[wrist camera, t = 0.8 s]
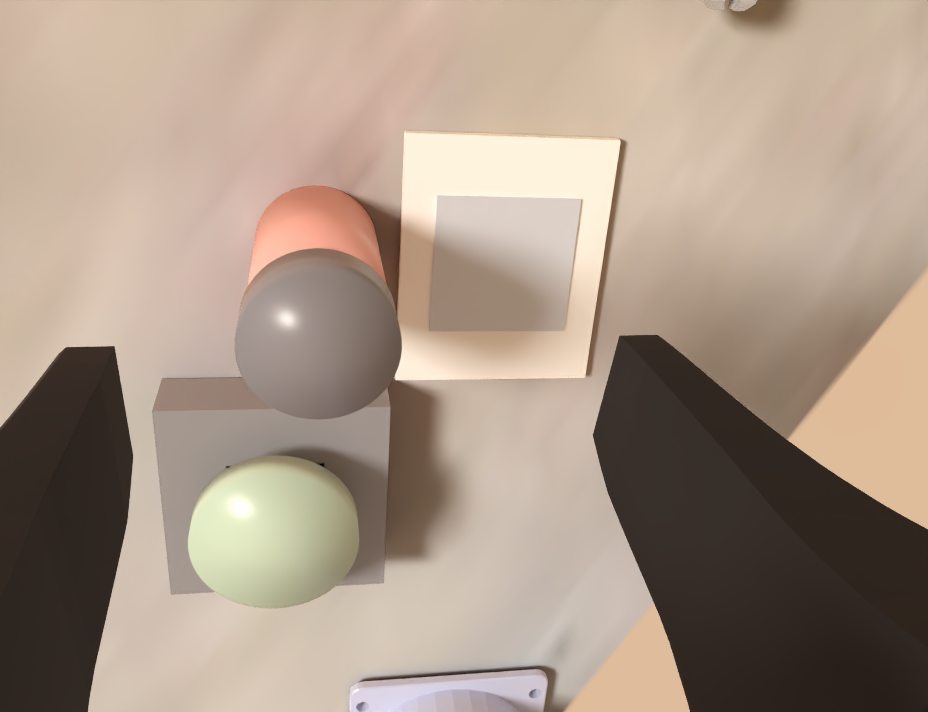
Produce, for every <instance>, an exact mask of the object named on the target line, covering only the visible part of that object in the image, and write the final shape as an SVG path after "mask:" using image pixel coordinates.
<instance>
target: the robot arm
mask: <svg viewBox="0 0 928 712" xmlns="http://www.w3.org/2000/svg"><path fill="white" fill-rule="evenodd" d="M593 438H594V442H595V446H596V450H597V454H598V458H599V462H600V466H601V470H602V473H603V477H604V480H605V484H606V487H607V491H608V494H609V497H610V499H611V502H612V504H613V507H614V509H615V511H616V514H617V516H618V519H619V521H620V523H621V526H622V528H623V531H624V533H625V536H626V538H627V540H628V543H629V545H630V547H631V550H632V552H633V554H634V557H635V559H636V561H637V564H638V566H639V569H640V571H641V573H642V576H643V578H644V580H645V583H646V585H647V587H648V590H649V592H650V594H651V597H652V599H653V601H654V604H655V606H656V609H657V611H658V613H659V615H660V618H661V621H662V623H663V626H664V629H665V632H666V634H667V637H668V640H669V642H670V645H671V649H672V652H673V655H674V659H675V662H676V665H677V669H678V672H679V675H680V678H681V681H682V685H683V688H684V691H685V695H686V698H687V702H688V705H689V709H690V712H928V529H926V528H924V527H922V526H920V525H919V524H917V523H915V522H913V521H911V520H909V519H907V518H906V517H904V516H902V515H900V514H899V513H897V512H895V511H893V510H892V509H890V508H888V507H886V506H885V505H883V504H881V503H880V502H878V501H876V500H875V499H873V498H872V497H870V496H869V495H867V494H865V493H864V492H862V491H861V490H859V489H857V488H856V487H854V486H853V485H851V484H849V483H848V482H846V481H845V480H843V479H842V478H840V477H838V476H837V475H835V474H834V473H833V472H831V471H829V470H828V469H827V468H825V467H824V466H822V465H820V464H819V463H818V462H816V461H815V460H814V459H812V458H811V457H810V456H808V455H807V454H805V453H804V452H803V451H801V450H800V449H799V448H797V447H796V446H795V445H793V444H792V443H790V442H789V441H788V440H786V439H785V438H784V437H782V436H781V435H780V434H778V433H777V432H776V431H775V430H773V429H772V428H771V427H769V426H768V425H767V424H766V423H764V422H763V421H762V420H761V419H759V418H758V417H757V416H755V415H754V414H753V413H752V412H751V411H749V410H748V409H747V408H746V407H744V406H743V405H742V404H741V403H739V402H738V401H737V400H736V399H735V398H733V397H732V396H731V395H730V394H729V393H727V392H726V391H725V390H724V389H723V388H721V387H720V386H719V385H718V384H717V383H716V382H714V381H713V380H712V379H711V378H710V377H708V376H707V375H706V374H705V373H704V372H703V371H701V370H700V369H699V368H698V367H697V366H695V365H694V364H693V363H692V362H691V361H689V360H688V359H687V358H686V357H685V356H684V355H682V354H681V353H680V352H679V351H677V350H676V349H675V348H674V347H673V346H671V345H670V344H669V343H667V342H666V341H665V340H664V339H662V338H661V337H660V336H658V335H633V336H619V340H618V344H617V347H616V351H615V355H614V359H613V362H612V366H611V370H610V374H609V377H608V381H607V385H606V388H605V392H604V396H603V400H602V403H601V407H600V411H599V414H598V418H597V422H596V426H595V429H594V433H593ZM132 464H133V452H132V446H131V441H130V435H129V429H128V423H127V417H126V411H125V406H124V400H123V394H122V388H121V382H120V376H119V371H118V365H117V359H116V353H115V347H114V346H107V347H66V348H65V349H64V350H63V351H62V352H60V353H59V354H58V356H57V357H56V358H55V360H54V361H53V362H52V363H51V365H50V366H49V367H48V369H47V370H46V371H45V373H44V374H43V375H42V377H41V378H40V379H39V380H38V382H37V383H36V384H35V386H34V387H33V388H32V389H31V391H30V392H29V393H28V395H27V396H26V397H25V398H24V400H23V401H22V402H21V403H20V404H19V406H18V407H17V408H16V409H15V411H14V412H13V413H12V414H11V416H10V417H9V418H8V419H7V420H6V422H5V423H4V424H3V425H2V426H1V427H0V712H88V705H89V697H90V692H91V686H92V680H93V675H94V669H95V664H96V660H97V655H98V651H99V646H100V642H101V638H102V633H103V629H104V624H105V620H106V615H107V611H108V607H109V602H110V598H111V593H112V589H113V584H114V580H115V575H116V571H117V566H118V562H119V557H120V553H121V548H122V544H123V539H124V534H125V530H126V525H127V519H128V509H129V499H130V488H131V476H132ZM547 687H548V679H547V676H546V673H545V672H544V671H542V670H539V669H532V670H518V671H504V672H490V673H476V674H462V675H448V676H434V677H420V678H406V679H392V680H378V681H364V682H358V683H356V684H354V685H353V686H352V687H351V689H350V702H349V712H544V706H545V699H546V693H547ZM534 689H536V690H534ZM532 690H533V691H532ZM361 702H366V703H363V704H361Z"/></svg>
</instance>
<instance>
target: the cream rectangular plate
mask: <svg viewBox="0 0 928 712" xmlns="http://www.w3.org/2000/svg"><path fill="white" fill-rule="evenodd" d="M620 143H621V140H620V139H618V138H604V137H576V136H549V135H521V134H493V133H465V132H437V131H410V130H405V132H404V157H403V182H402V207H401V231H400V256H399V281H398V306H397V318H398V322H399V327H400V332H401V338H402V352H401V359H400V363H399V367H398V369H397V371H396V374H395V380H452V379H529V378H585V374H586V368H587V361H588V354H589V348H590V341H591V335H592V328H593V321H594V315H595V308H596V302H597V295H598V288H599V282H600V275H601V268H602V262H603V255H604V249H605V242H606V235H607V229H608V222H609V216H610V209H611V202H612V196H613V189H614V183H615V176H616V169H617V163H618V156H619V149H620Z"/></svg>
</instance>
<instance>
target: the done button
mask: <svg viewBox="0 0 928 712" xmlns="http://www.w3.org/2000/svg"><path fill="white" fill-rule="evenodd" d="M358 548H359V529H358V517H357V509H356V505H355V502H354V499H353V497H352V495H351V493H350V491H349V490H348V488H347V487H346V486H345V484H344V483H343V482H342V481H341V480H340V479H339V478H338V477H337V476H336V475H335V474H333V473H332V472H330V471H329V470H328V469H326V468H324V467H322V466H320V465H318V464H316V463H314V462H311V461H308V460H305V459H301V458H297V457H291V456H277V455H273V456H262V457H257V458H251V459H248V460H245V461H242V462H239V463H237V464H235V465H232V466H230V467H229V468H227V469H225V470H223V471H222V472H220V473H219V474H218V475H217V476H215V477H214V478H213V479H212V480H211V481H210V482H209V483H208V484H207V485H206V486H205V488H204V489H203V490H202V492H201V493H200V495H199V497H198V499H197V500H196V503H195V506H194V509H193V514H192V519H191V525H190V530H189V536H188V551H189V557H190V560H191V563H192V565H193V567H194V569H195V571H196V573H197V574H198V575H199V577H200V578H201V579H202V581H203V582H204V583H205V584H206V585H207V586H208V587H210V588H211V589H212V590H214V591H215V592H216V593H218V594H219V595H221V596H223V597H225V598H227V599H229V600H231V601H234V602H236V603H240V604H243V605H247V606H252V607H258V608H283V607H290V606H295V605H299V604H303V603H306V602H309V601H311V600H313V599H316V598H318V597H320V596H322V595H323V594H325V593H327V592H328V591H330V590H331V589H332V588H334V587H335V586H336V585H337V584H338V583H339V582H341V581H342V579H343V578H344V577H345V576H346V575H347V574H348V572H349V570H350V569H351V567H352V566H353V563H354V561H355V559H356V556H357V553H358Z"/></svg>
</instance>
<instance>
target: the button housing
mask: <svg viewBox="0 0 928 712" xmlns="http://www.w3.org/2000/svg"><path fill="white" fill-rule="evenodd" d="M390 410H391V406H390V400H389V394H388V388H386V389H385V391H384V392H383V393H382V394H381V395H380V396H379V397H378V398H377V399H375V400H374V401H373V402H371V403H370V404H369V405H367V406H365V407H364V408H362V409H360V410H358V411H356V412H354V413H351V414H348V415H345V416H342V417H338V418H332V419H322V420H316V419H304V418H298V417H294V416H291V415H288V414H285V413H282V412H280V411H278V410H276V409H274V408H272V407H270V406H269V405H268V404H266V403H265V402H263V401H262V400H261V399H260V398H259V397H257V396H256V395H255V394H254V393H253V391H252V390H251V389H250V388H249V387H248V385H247V384H246V382H245V381H244V379H243V378H175V379H162V381H161V384H160V387H159V391H158V394H157V397H156V400H155V404H154V407H153V410H152V414H153V423H154V433H155V443H156V453H157V462H158V472H159V482H160V492H161V501H162V511H163V521H164V531H165V540H166V550H167V560H168V569H169V579H170V589H171V594H189V593H208V592H215V591H214V590H212V589H211V588H210V587H208V586H207V585H206V584H205V583H204V582H203V581H202V579H201V578H200V577H199V575H198V574H197V573H196V571H195V569H194V567H193V565H192V563H191V560H190V557H189V551H188V536H189V530H190V525H191V519H192V514H193V509H194V506H195V503H196V500H197V499H198V497H199V495H200V493H201V492H202V490H203V489H204V488H205V486H206V485H207V484H208V483H209V482H210V481H211V480H212V479H213V478H214V477H215V476H217V475H218V474H219V473H220V472H222V471H223V470H225V469H227V468H229V467H230V466H232V465H235V464H237V463H239V462H242V461H245V460H248V459H251V458H257V457H262V456H273V455H277V456H291V457H297V458H301V459H305V460H308V461H311V462H314V463H324V468H326V469H328V470H329V471H330V472H332V473H333V474H335V475H336V476H337V477H338V478H339V479H340V480H341V481H342V482H343V483H344V484H345V486H346V487H347V488H348V490H349V491H350V493H351V495H352V497H353V499H354V502H355V505H356V509H357V517H358V529H359V548H358V553H357V556H356V559H355V561H354V563H353V566H352V567H351V569H350V570H349V572H348V574H347V575H346V576H345V577H344V578H343V579H342V581H341V582H339V583H338V584H337V585H336V586H341V585H360V584H379V583H384V565H385V539H386V513H387V487H388V461H389V436H390Z"/></svg>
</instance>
